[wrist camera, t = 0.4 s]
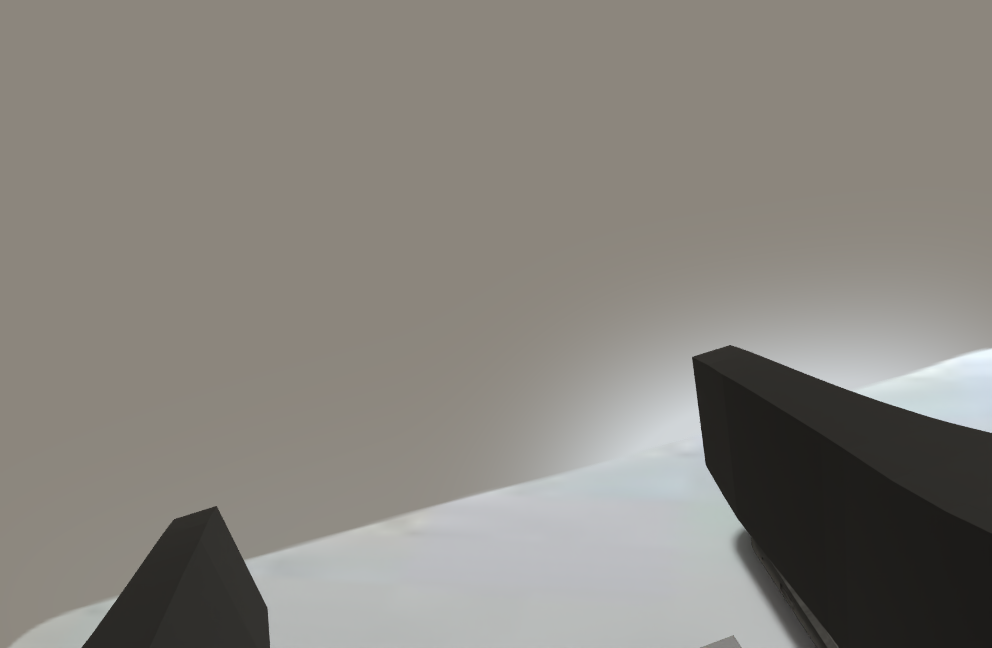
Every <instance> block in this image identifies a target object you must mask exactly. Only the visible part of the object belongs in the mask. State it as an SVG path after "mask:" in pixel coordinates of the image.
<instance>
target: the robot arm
mask: <svg viewBox="0 0 992 648" xmlns="http://www.w3.org/2000/svg"><path fill="white" fill-rule="evenodd" d="M692 360H693V368H694V376H695V383H696V391H697V399H698V407H699V415H700V423H701V431H702V439H703V447H704V454H705V462H706V466H707V468H708V470H709V471H710V473H711V475H712V477H713V478H714V480H715V482H716V483H717V485H718V487H719V489H720V490H721V492H722V494H723V496H724V497H725V499H726V500H727V502H728V504H729V505H730V507H731V509H732V510H733V512H734V513H735V515H736V517H737V518H738V520H739V521H740V522H741V524H742V525H743V526H744V528H745V529H746V530H747V531H748V533H749V534H750V535H751V537H752V538H753V539H754V540H755V542H756V543H757V544H758V545H759V547H760V548H761V549H762V551H763V552H764V553H765V554H766V556H767V557H768V558H769V559H770V561H771V562H772V563H773V564H774V566H775V567H776V568H777V569H778V571H779V572H780V573H781V574H782V576H783V577H784V578H785V579H786V581H787V582H788V583H789V584H790V586H791V587H792V588H793V590H794V591H795V592H796V593H797V595H798V596H799V597H800V598H801V600H802V601H803V602H804V603H805V605H806V606H807V607H808V608H809V610H810V611H811V612H812V613H813V615H814V616H815V617H816V618H817V620H818V621H819V622H820V623H821V625H822V626H823V627H824V628H825V630H826V631H827V632H828V633H829V635H830V636H831V637H832V639H833V640H834V642H835V643H836V644H837V646H838V647H839V648H992V433H989V432H985V431H981V430H977V429H973V428H969V427H965V426H960V425H956V424H952V423H949V422H945V421H942V420H938V419H934V418H931V417H927V416H924V415H921V414H918V413H915V412H912V411H908V410H905V409H902V408H899V407H896V406H893V405H889V404H886V403H883V402H880V401H877V400H874V399H872V398H869V397H866V396H863V395H860V394H857V393H855V392H852V391H849V390H846V389H844V388H841V387H838V386H835V385H833V384H830V383H827V382H825V381H822V380H820V379H817V378H815V377H812V376H810V375H807V374H804V373H802V372H799V371H797V370H794V369H792V368H789V367H787V366H784V365H782V364H779V363H777V362H774V361H772V360H769V359H767V358H764V357H762V356H759V355H757V354H754V353H751V352H749V351H746V350H743V349H740V348H737V347H734V346H731V345H729V346H726V347H723V348H720V349H716V350H713V351H710V352H707V353H703V354H700V355H697V356H694V357H692ZM82 648H270V639H269V624H268V609H267V606H266V604H265V602H264V600H263V598H262V596H261V594H260V592H259V590H258V588H257V586H256V584H255V582H254V580H253V578H252V576H251V574H250V572H249V570H248V568H247V566H246V564H245V562H244V560H243V558H242V556H241V554H240V552H239V550H238V548H237V546H236V544H235V542H234V540H233V538H232V536H231V534H230V532H229V530H228V528H227V526H226V524H225V522H224V520H223V518H222V516H221V514H220V512H219V510H218V508H217V506H215V507H212V508H209V509H206V510H202V511H199V512H196V513H193V514H190V515H187V516H183V517H180V518H177V519H174V520H173V522H172V523H171V524H170V525H169V527H168V528H167V529H166V531H165V532H164V533H163V535H162V536H161V537H160V539H159V540H158V542H157V543H156V544H155V546H154V547H153V549H152V550H151V551H150V553H149V554H148V556H147V557H146V559H145V560H144V562H143V563H142V565H141V566H140V567H139V569H138V570H137V572H136V573H135V575H134V576H133V577H132V579H131V581H130V582H129V583H128V585H127V586H126V587H125V589H124V590H123V592H122V593H121V594H120V596H119V597H118V599H117V600H116V601H115V603H114V604H113V606H112V607H111V608H110V610H109V611H108V613H107V614H106V615H105V617H104V618H103V620H102V621H101V622H100V624H99V625H98V627H97V628H96V629H95V631H94V632H93V634H92V635H91V636H90V638H89V639H88V640H87V641H86V643H85V644H84V645H83V647H82Z"/></svg>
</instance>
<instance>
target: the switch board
mask: <svg viewBox="0 0 992 648" xmlns="http://www.w3.org/2000/svg"><path fill="white" fill-rule="evenodd" d="M701 648H741V646H740V645H739V643H738V641H737V640H736V638H735V637H734V635H733V636H730V637H728V638H725V639H722V640H720V641H717V642H714V643H712V644H709V645H706V646H704V647H701Z"/></svg>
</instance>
